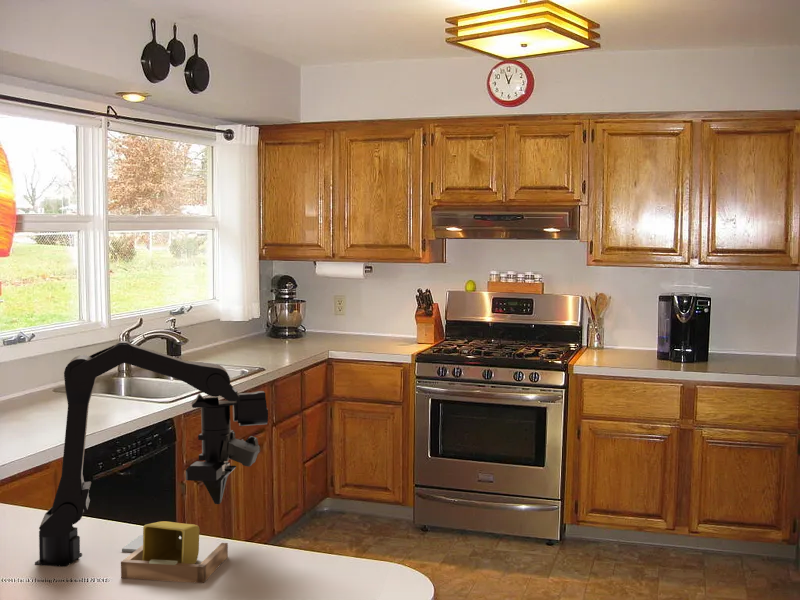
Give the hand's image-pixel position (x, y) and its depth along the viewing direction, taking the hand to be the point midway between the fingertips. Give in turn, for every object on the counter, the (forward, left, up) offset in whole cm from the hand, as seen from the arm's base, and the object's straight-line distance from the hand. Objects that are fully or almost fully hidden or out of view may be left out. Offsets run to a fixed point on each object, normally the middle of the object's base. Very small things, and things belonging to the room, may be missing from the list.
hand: (217, 503), depth 172 cm
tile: (-14, -2, -9) cm, 16 cm away
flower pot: (-3, -7, -5) cm, 9 cm away
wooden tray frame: (-4, -13, -9) cm, 16 cm away
